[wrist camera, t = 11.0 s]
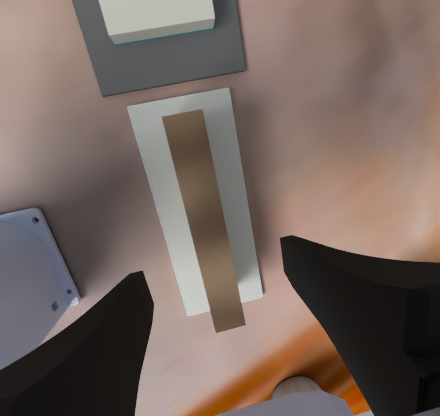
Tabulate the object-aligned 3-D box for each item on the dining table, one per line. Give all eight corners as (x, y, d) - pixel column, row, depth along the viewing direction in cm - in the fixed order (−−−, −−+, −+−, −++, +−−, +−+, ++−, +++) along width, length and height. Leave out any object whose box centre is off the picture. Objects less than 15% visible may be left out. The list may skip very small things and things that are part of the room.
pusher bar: (233, 286, 22) (245, 325, 17) (210, 292, 22) (216, 332, 17) (199, 118, 18) (202, 108, 13) (169, 124, 17) (161, 116, 13)
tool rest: (262, 294, 23) (263, 297, 23) (187, 313, 23) (187, 316, 23) (228, 88, 18) (229, 87, 17) (127, 107, 17) (126, 106, 17)
